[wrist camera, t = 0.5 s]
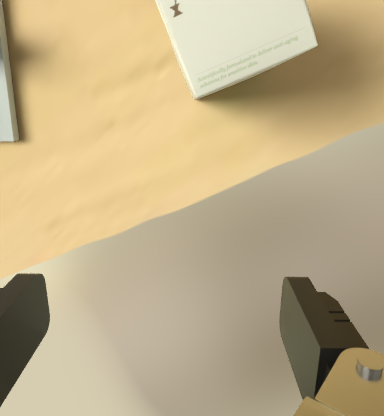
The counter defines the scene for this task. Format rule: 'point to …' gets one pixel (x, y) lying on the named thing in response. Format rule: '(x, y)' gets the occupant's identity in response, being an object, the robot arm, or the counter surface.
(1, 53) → the jig
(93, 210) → the counter surface
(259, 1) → the skincare box
